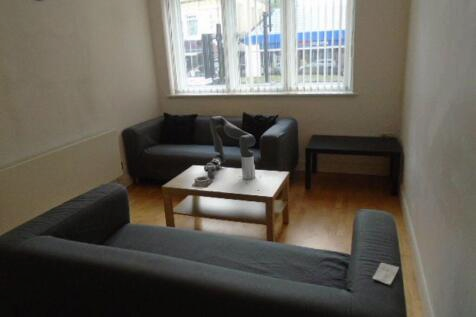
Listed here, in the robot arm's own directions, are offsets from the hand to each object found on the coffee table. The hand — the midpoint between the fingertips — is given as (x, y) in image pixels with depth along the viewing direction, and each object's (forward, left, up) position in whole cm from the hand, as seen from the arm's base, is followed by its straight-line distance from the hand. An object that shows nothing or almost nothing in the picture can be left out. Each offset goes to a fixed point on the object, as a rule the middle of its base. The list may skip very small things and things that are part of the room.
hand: (209, 170), depth 287 cm
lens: (0, -3, -7) cm, 7 cm away
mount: (+1, +10, -7) cm, 13 cm away
